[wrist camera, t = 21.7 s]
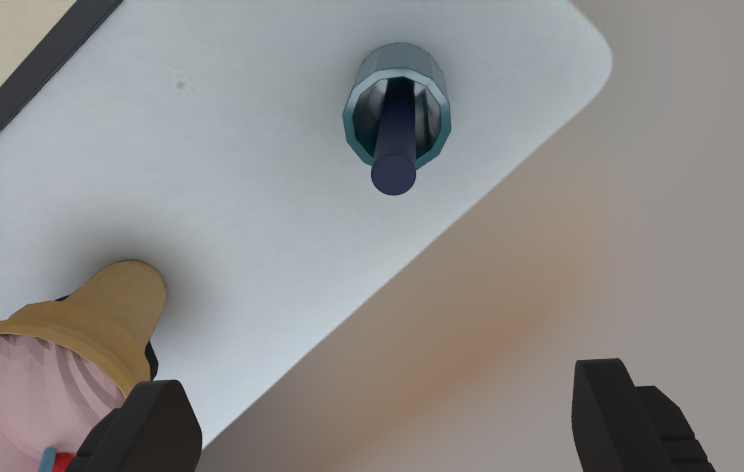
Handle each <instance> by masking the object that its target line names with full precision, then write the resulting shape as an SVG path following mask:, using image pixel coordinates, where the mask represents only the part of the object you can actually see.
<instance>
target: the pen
mask: <svg viewBox="0 0 744 472" xmlns="http://www.w3.org/2000/svg"><path fill="white" fill-rule="evenodd" d="M371 179H372V182H373V184H374V186H375V187H376V188H377V189H378V190H379V191H381V192H382V193H384V194H387V195H393V196H394V195H400V194H403V193H405V192H407V191H408V190H409V189H410V188H411V187H412V186H413V184H414V182H415V179H416V136H415V93H414V90H413V89H412V87H411V86H410V85H409V84H407V83H405V82H395V83H393V84H391V85H390V86H389V87H388V88H387V90H386V92H385V97H384V103H383V108H382V114H381V120H380V125H379V131H378V136H377V142H376V148H375V153H374V159H373V164H372V170H371Z"/></svg>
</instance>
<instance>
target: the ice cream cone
mask: <svg viewBox="0 0 744 472" xmlns="http://www.w3.org/2000/svg"><path fill="white" fill-rule="evenodd" d="M165 304H166V286H165V283H164V280H163V277H162V276H161V275H160V274H159V273H158V271H157V270H155V269H154V268H153V267H151V266H150V265H148V264H146V263H143V262H141V261H134V260H129V261H123V262H118V263H114V264H111V265H109V266H108V267H106V268H105V269H103V270H102V271H100V272H99V273H97V274H96V275H95V276H93V277H92V278H91V279H89V280H88V281H87V282H86V283H85V284H83V285H82V286H81V287H80V288H78V289H77V290H76V291H75V292H74V293H72V294H71V295H70V296H69V297H68V298H66V299H65V300H63V301H61V302H60V301H46V302H40V303H34V304H28V305H26V306H24V307H23V308H21V309H20V310H18V311H17V312H15V313H14V314H12V315H11V316H10V317H9V319H8V320H5V321H0V472H64V471H65V469H66V467H67V466H68V464H69V463H70V461H71V460H72V458H75V457H76V452H77V451H78V449H79V448H80V446H81V445H82V443H83V441H84V440H85V438H86V437H87V435H88V434H89V432H90V431H91V429H92V428H93V427H94V426H96V425H97V424H98V423H99V422H100V421H101V420H102V419H103V418H104V417H105V416H106V415H107V414H109V413H110V412H111V411H112V410H113V409H114V408H121V407H122V405H123V403H124V402H125V400H126V399H127V397H128V395H129V394H130V392H131V391H132V389H133V388H134V386H135V385H136V384H137V383H139V382H141V381H150V365H149V363H148V361H147V359H146V357H145V354H144V352H145V347H146V345H147V343H148V341H149V339H150V337H151V335H152V333H153V331H154V329H155V327H156V325H157V323H158V321H159V318H160V316H161V314H162V312H163V309H164V306H165Z"/></svg>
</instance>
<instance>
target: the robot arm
mask: <svg viewBox="0 0 744 472" xmlns="http://www.w3.org/2000/svg"><path fill="white" fill-rule="evenodd" d="M574 375H575V376H574V387H573V401H572V416H571V418H572V430H573V437H574V441H575V446H576V450H577V453H578V456H579V459H580V462H581V465H582V468H583V472H716V471H715V470H714V468H713V466H712V464H711V463H709V462H708V460H707V455H706V454H705V452H704V450H703V449H702V447H701V445H700V443H699V441H698V440H696V439H695V436H694V435H695V434H694V432H693V431H692V429H691V427H690V425H689V424H688V422H687V420H686V418H685V417H684V415H683V413H682V411H681V410H680V408H679V407H678V406H677V405H676V404H675V403H674V402H672V401H671V400H670V399H669V398H668V397H667V396H666V395H665V394H663V393H662V392H661V391H660V390H659V389H658V388H656V387H655V386H640V387H639V386H638V387H635V386H634V384H633V382H632V380H631V378H630V376H629V373H628V372H627V369H626V367H625V366H624V364H623V362H622V361H621V360H620V359H619V358H613V359H593V360H577V362H576V365H575V374H574ZM201 450H202V432H201V428H200V425H199V423H198V421H197V418H196V416H195V414H194V411H193V409H192V407H191V405H190V402H189V400H188V398H187V395H186V393H185V391H184V388H183V386H182V384H181V383H180V382H179V381H178V380H157V381H141V382H139V383H137V384H136V385H135V386H134V388H133V389H132V391H131V392H130V394H129V395H128V397H127V399H126V400H125V402H124V403H123V405H122V407H121V408H114V409H113V410H112V411H111V412H110V413H109V414H107V415H106V416H105V417H104V418H103V419H102V420H101V421H100V422H99V423H98V424H97V425H96V426H94V427H93V428H92V429H91V431H90V432H89V434H88V435H87V437H86V438H85V440H84V441H83V443H82V445H81V446H80V448H79V449H78V451H77V452H76V457H75V458H72V460H71V461H70V463H69V464H68V466H67V467H66V469H65V471H64V472H194V471H195V468H196V466H197V463H198V461H199V458H200V455H201Z"/></svg>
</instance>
